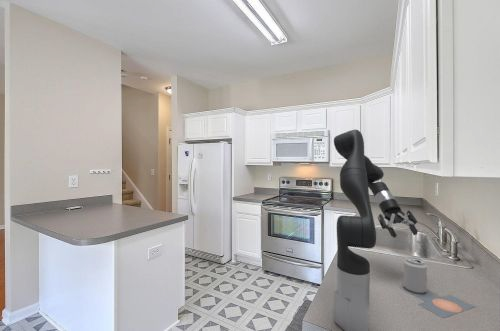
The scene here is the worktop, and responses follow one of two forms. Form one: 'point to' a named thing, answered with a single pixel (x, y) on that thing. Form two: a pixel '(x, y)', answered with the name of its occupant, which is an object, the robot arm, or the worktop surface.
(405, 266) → the can
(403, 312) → the worktop surface
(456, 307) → the t mat
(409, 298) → the worktop surface
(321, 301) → the worktop surface
